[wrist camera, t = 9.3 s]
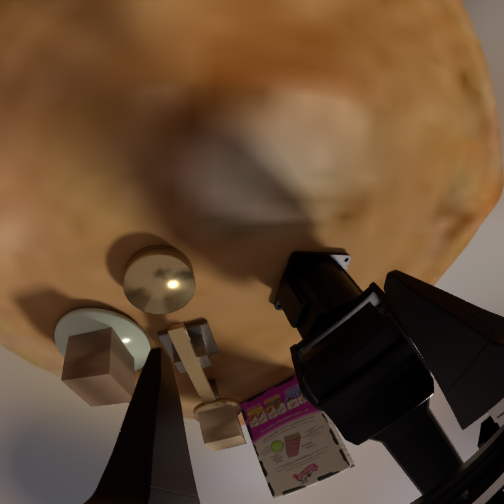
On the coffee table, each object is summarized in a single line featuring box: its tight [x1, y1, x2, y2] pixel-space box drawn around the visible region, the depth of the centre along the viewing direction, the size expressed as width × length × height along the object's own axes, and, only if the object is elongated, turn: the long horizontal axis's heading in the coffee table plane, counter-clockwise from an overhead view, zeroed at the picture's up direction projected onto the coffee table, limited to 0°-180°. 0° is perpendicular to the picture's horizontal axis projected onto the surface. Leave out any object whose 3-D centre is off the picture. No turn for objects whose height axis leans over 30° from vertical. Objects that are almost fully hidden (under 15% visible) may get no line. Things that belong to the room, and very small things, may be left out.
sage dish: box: [54, 308, 150, 372], centre depth 23 cm, size 10×10×1 cm
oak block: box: [197, 404, 246, 451], centre depth 27 cm, size 4×4×4 cm
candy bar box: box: [240, 375, 355, 498], centre depth 33 cm, size 11×5×16 cm, turn 120°
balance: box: [123, 245, 241, 421], centre depth 25 cm, size 24×6×5 cm, turn 7°
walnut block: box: [61, 327, 135, 406], centre depth 21 cm, size 5×5×5 cm
